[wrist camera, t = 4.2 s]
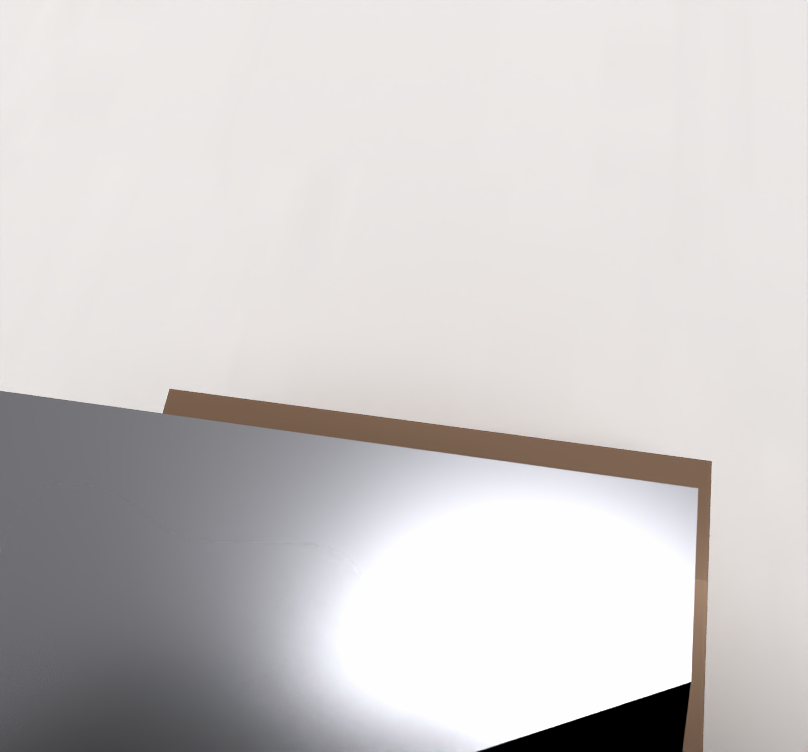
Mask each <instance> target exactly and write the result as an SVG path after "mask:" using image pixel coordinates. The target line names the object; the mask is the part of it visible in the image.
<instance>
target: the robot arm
mask: <svg viewBox="0 0 808 752" xmlns="http://www.w3.org/2000/svg"><path fill="white" fill-rule="evenodd" d="M541 734H542V730H541V731H538V732H535V733H532V734H529V735H526V745H525V752H538V750H539V745H540V739H541Z"/></svg>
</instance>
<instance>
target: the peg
mask: <svg viewBox="0 0 808 752" xmlns="http://www.w3.org/2000/svg"><path fill="white" fill-rule="evenodd" d="M697 508H698V488H691V487H684V486H677V485H670V484H663V483H656V482H648V481H641V480H634V479H627V478H620V477H613V476H605V475H598V474H591V473H584V472H577V471H570V470H562V469H555V468H548V467H541V466H534V465H527V464H520V463H512V462H505V461H498V460H491V459H484V458H477V457H469V456H462V455H455V454H448V453H441V452H434V451H426V450H419V449H412V448H405V447H398V446H391V445H383V444H376V443H369V442H362V441H355V440H348V439H341V438H333V437H326V436H319V435H312V434H305V433H298V432H290V431H283V430H276V429H269V428H262V427H255V426H247V425H240V424H233V423H226V422H219V421H212V420H204V419H197V418H190V417H183V416H176V415H169V414H161V413H154V412H147V411H140V410H133V409H126V408H119V407H111V406H104V405H97V404H90V403H83V402H76V401H68V400H61V399H54V398H47V397H40V396H33V395H25V394H18V393H11V392H4V391H0V752H525V745H526V735H529V734H532V733H535V732H538V731H541V730H542V734H541V739H540V745H539V750H538V752H682V751H683V743H684V735H685V727H686V719H687V711H688V703H689V695H690V687H691V671H692V644H693V617H694V590H695V562H696V535H697Z"/></svg>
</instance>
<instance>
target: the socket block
mask: <svg viewBox="0 0 808 752" xmlns="http://www.w3.org/2000/svg"><path fill="white" fill-rule="evenodd" d="M163 414H169V415H176V416H183V417H190V418H197V419H204V420H212V421H219V422H226V423H233V424H240V425H247V426H255V427H262V428H269V429H276V430H283V431H290V432H298V433H305V434H312V435H319V436H326V437H333V438H341V439H348V440H355V441H362V442H369V443H376V444H383V445H391V446H398V447H405V448H412V449H419V450H426V451H434V452H441V453H448V454H455V455H462V456H469V457H477V458H484V459H491V460H498V461H505V462H512V463H520V464H527V465H534V466H541V467H548V468H555V469H562V470H570V471H577V472H584V473H591V474H598V475H605V476H613V477H620V478H627V479H634V480H641V481H648V482H656V483H663V484H670V485H677V486H684V487H691V488H698V508H697V535H696V562H695V590H694V617H693V644H692V671H691V687H690V695H689V703H688V711H687V719H686V727H685V735H684V743H683V751H682V752H703V722H704V690H705V658H706V626H707V594H708V562H709V530H710V498H711V466H712V461H706V460H698V459H691V458H683V457H676V456H668V455H661V454H653V453H646V452H638V451H631V450H623V449H616V448H608V447H601V446H593V445H586V444H578V443H571V442H563V441H556V440H549V439H541V438H534V437H526V436H519V435H511V434H504V433H496V432H489V431H481V430H474V429H466V428H459V427H451V426H444V425H436V424H429V423H421V422H414V421H406V420H399V419H391V418H384V417H376V416H369V415H361V414H354V413H346V412H339V411H331V410H324V409H316V408H309V407H301V406H294V405H286V404H279V403H272V402H264V401H257V400H249V399H242V398H234V397H227V396H219V395H212V394H204V393H197V392H189V391H182V390H174V389H169V393H168V396H167V400H166V403H165V407H164V410H163Z"/></svg>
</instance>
